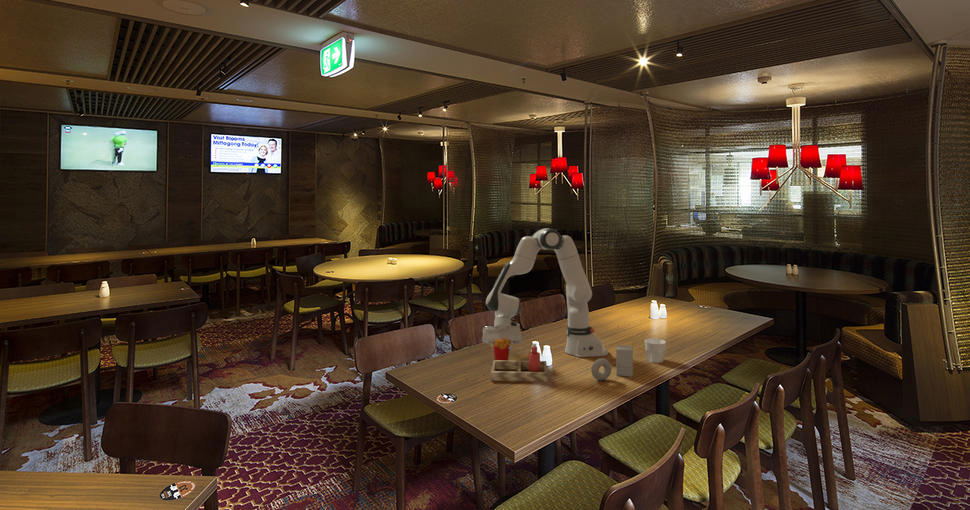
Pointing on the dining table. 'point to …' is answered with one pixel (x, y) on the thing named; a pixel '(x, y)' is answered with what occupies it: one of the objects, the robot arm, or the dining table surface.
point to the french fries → (501, 349)
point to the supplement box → (624, 360)
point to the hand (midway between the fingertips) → (501, 350)
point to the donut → (606, 371)
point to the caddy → (518, 375)
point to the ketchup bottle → (534, 360)
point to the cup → (654, 350)
